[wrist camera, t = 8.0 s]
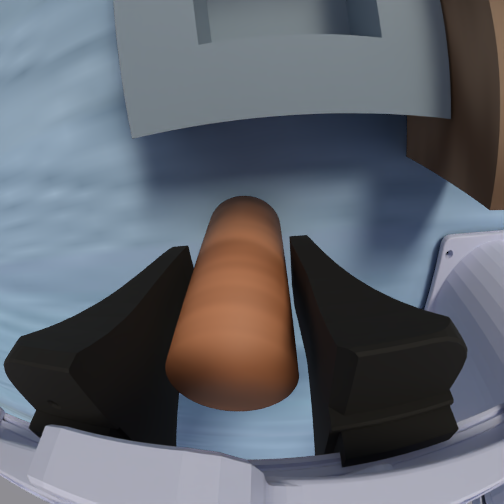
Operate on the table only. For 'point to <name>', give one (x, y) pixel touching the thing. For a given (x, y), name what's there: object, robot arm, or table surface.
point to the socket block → (279, 59)
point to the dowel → (237, 314)
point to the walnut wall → (468, 105)
